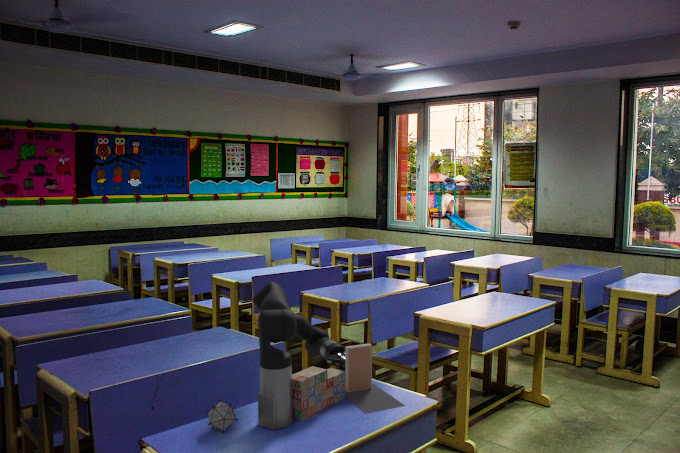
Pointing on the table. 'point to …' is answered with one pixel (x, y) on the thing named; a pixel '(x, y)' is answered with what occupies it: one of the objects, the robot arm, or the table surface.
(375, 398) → the mat
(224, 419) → the game die
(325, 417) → the table surface
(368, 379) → the tile
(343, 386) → the stack of blocks
